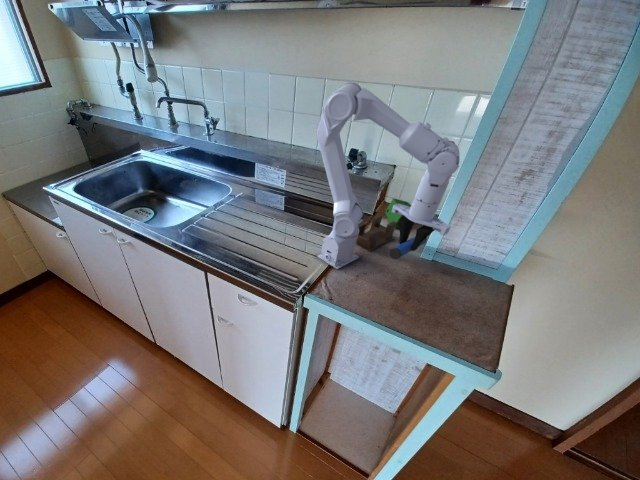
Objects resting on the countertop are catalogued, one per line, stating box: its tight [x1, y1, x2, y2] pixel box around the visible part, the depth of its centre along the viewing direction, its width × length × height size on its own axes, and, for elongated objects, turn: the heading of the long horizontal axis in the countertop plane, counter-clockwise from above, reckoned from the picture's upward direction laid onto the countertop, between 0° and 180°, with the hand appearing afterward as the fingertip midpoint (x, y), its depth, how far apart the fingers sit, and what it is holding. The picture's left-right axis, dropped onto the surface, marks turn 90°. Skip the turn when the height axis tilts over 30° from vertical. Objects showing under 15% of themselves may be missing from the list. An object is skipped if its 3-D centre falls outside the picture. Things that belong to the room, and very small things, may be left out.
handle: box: [388, 236, 428, 260], centre depth 86 cm, size 12×3×3 cm, turn 125°
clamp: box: [385, 198, 412, 229], centre depth 110 cm, size 12×6×9 cm, turn 170°
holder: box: [356, 214, 397, 252], centre depth 102 cm, size 11×7×6 cm, turn 125°
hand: (408, 246), depth 86 cm, fingers closed on handle, 3 cm apart
